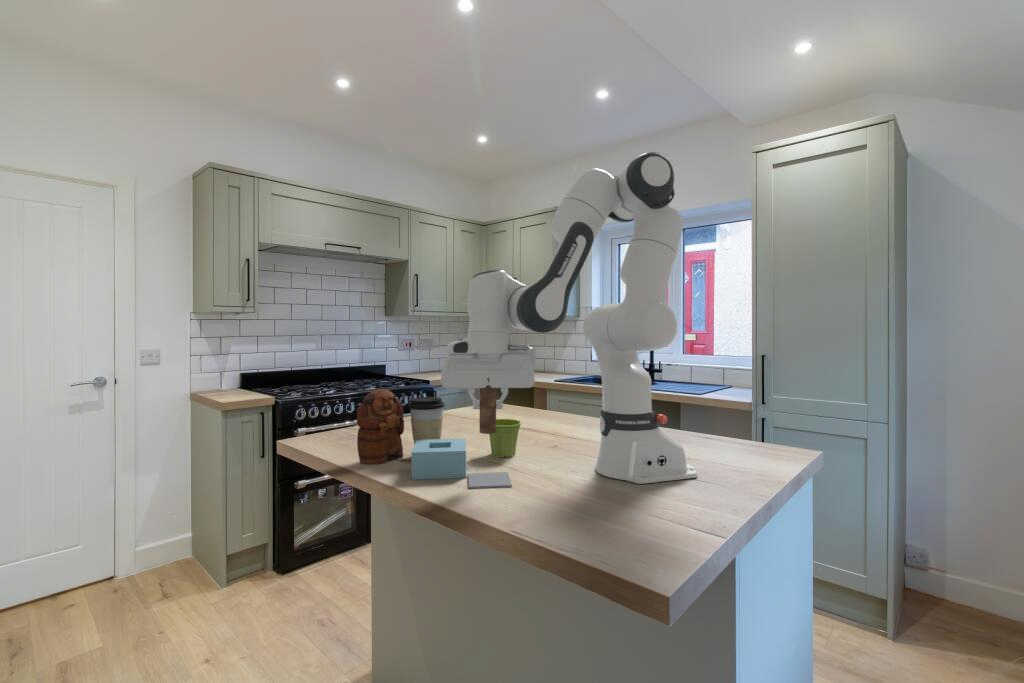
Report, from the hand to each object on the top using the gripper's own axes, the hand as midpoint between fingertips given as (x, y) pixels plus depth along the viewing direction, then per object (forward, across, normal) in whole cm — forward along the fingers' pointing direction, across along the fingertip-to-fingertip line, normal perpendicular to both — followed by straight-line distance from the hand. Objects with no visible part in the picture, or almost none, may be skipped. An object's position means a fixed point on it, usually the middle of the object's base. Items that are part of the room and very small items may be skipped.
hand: (487, 408), depth 105 cm
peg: (+5, 0, 0) cm, 5 cm away
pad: (+16, 0, 0) cm, 16 cm away
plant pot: (+16, -5, -21) cm, 27 cm away
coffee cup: (+16, +15, -22) cm, 31 cm away
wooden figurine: (+16, +26, -20) cm, 36 cm away
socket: (+16, +11, -9) cm, 21 cm away
